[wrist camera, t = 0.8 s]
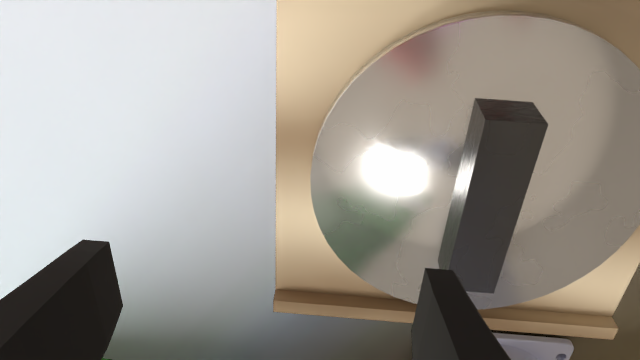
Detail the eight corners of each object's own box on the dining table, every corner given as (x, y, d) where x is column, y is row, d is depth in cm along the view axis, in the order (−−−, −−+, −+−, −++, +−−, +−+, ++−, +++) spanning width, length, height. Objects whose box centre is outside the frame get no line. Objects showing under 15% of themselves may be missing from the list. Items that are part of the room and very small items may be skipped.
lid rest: (566, 253, 24) (611, 341, 20) (288, 231, 24) (273, 313, 20) (691, -55, 17) (806, -24, 12) (294, -80, 17) (273, -57, 13)
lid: (588, 309, 19) (610, 352, 17) (306, 286, 19) (301, 327, 18) (723, 23, 13) (775, 48, 12) (319, -3, 14) (314, 17, 12)
